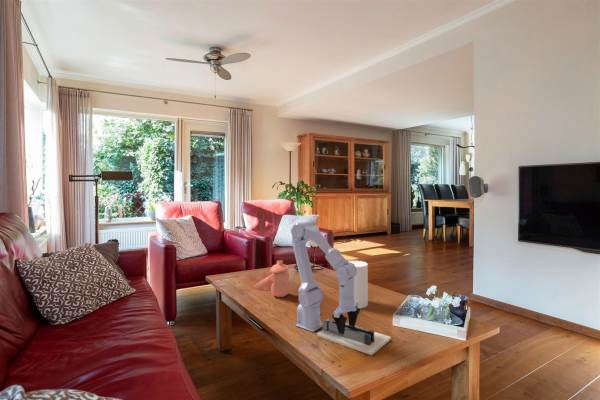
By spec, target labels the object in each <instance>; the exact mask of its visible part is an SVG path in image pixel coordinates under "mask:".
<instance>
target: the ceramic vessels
mask: <svg viewBox="0 0 600 400" xmlns="http://www.w3.org/2000/svg"><path fill="white" fill-rule="evenodd" d="M288 270H289V266H288V265H287V264H284V262H283V260H276V263H275V264H274V265H272V266H271V268H270V270H269V275H268V276H267V277H265V278H263V279H261V280H260V281H258V282H257V283H256V284H254V287H253V288H254V289H255V290H259V291H263V292H271V294H272V295H273V296H275V297H276V298H283V297H286V296H287V295H288V294H289V293H290V291H291V290H290V283H289V282H287V281H289V279H290V274H289V273H290V272H288Z"/></svg>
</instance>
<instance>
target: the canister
mask: <svg viewBox="0 0 600 400" xmlns="http://www.w3.org/2000/svg"><path fill="white" fill-rule="evenodd" d="M347 261H348V262H351V263H353V264H354V265H355V267H356V269H357V273H356V275H355V276H354V301H357V302H359V306H358V307H357V308H360V309H364V308H366V307H367V306H369V286H368V284H369V282H368V281H369V280H368V278H369V277H368V275H369V273H368V272H369V271H368V269H369V267H368V266H369V265H368V263H367V262H366V261H362V260H354V259H353V260H350V259H349V260H347Z"/></svg>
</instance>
